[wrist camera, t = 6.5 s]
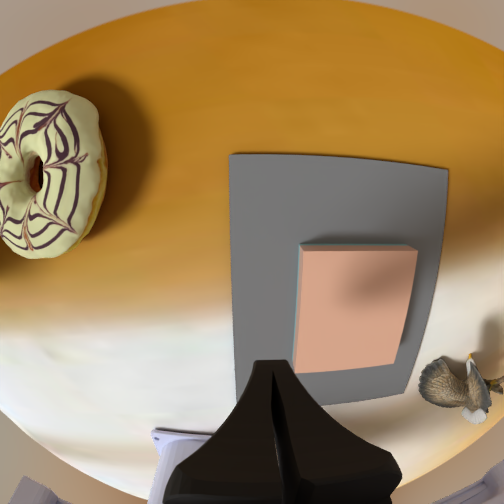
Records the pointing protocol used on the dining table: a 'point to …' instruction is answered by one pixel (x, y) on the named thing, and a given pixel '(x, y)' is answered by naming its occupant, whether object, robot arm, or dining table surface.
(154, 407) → the dining table surface
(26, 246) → the decorated donut
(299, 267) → the tile
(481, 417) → the eagle figurine
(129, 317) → the dining table surface
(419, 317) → the mat
